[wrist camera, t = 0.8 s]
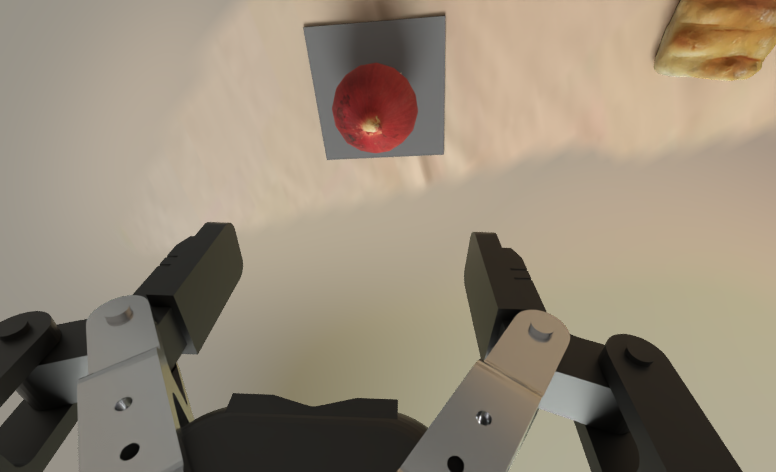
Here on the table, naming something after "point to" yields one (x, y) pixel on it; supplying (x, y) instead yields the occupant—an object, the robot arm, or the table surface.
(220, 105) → the table surface
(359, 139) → the onion
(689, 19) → the pastry
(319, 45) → the mat
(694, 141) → the table surface
